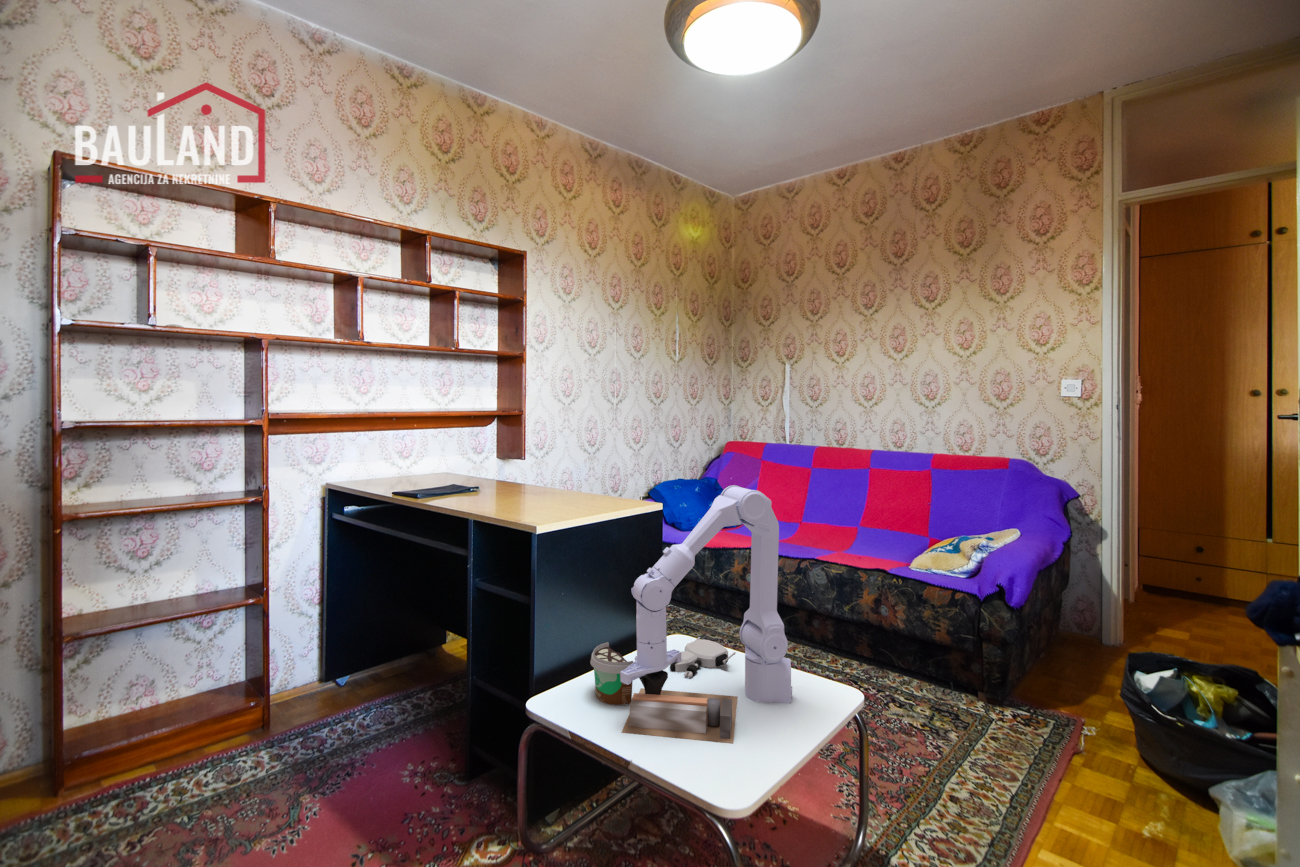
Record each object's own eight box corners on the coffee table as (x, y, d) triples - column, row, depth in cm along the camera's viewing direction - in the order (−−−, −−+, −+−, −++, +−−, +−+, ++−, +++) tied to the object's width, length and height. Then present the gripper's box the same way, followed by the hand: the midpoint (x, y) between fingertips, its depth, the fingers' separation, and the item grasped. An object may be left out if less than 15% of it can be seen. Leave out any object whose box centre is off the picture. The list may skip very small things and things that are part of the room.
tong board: (737, 702, 124) (737, 677, 124) (733, 750, 107) (733, 720, 107) (640, 693, 128) (640, 669, 128) (621, 739, 110) (621, 710, 110)
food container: (581, 694, 128) (580, 646, 128) (607, 687, 131) (607, 641, 131) (606, 719, 117) (606, 668, 117) (634, 712, 120) (634, 661, 120)
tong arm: (720, 719, 114) (720, 698, 114) (719, 726, 112) (719, 705, 112) (634, 713, 117) (634, 692, 117) (631, 719, 114) (631, 698, 114)
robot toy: (689, 690, 132) (738, 667, 141) (688, 670, 132) (737, 648, 141) (654, 671, 142) (702, 651, 151) (653, 652, 141) (701, 633, 150)
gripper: (663, 623, 125) (664, 689, 126) (609, 643, 115) (610, 714, 115) (689, 632, 120) (689, 700, 120) (634, 654, 110) (636, 728, 110)
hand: (652, 708), depth 118 cm, fingers closed, pressing on tong arm
